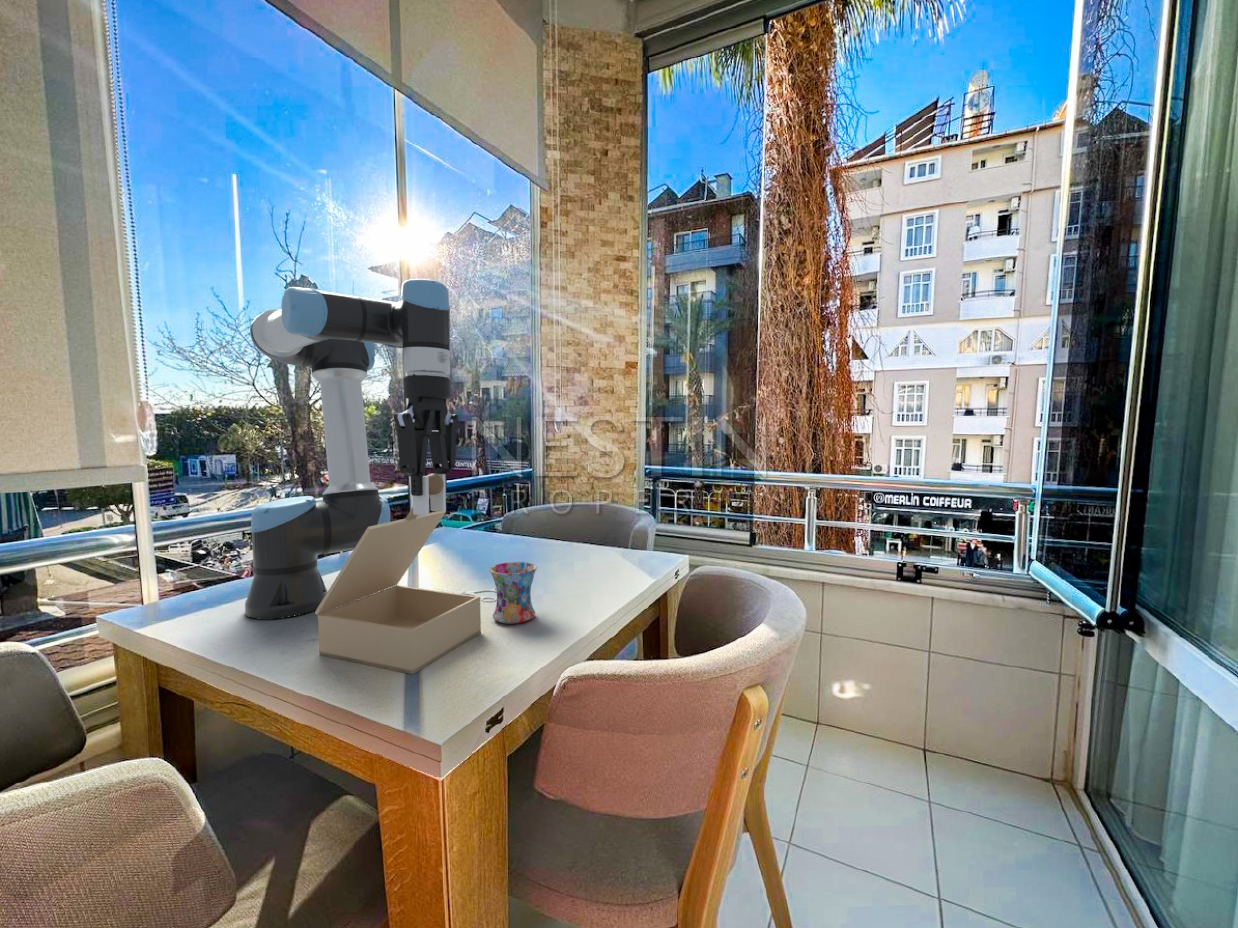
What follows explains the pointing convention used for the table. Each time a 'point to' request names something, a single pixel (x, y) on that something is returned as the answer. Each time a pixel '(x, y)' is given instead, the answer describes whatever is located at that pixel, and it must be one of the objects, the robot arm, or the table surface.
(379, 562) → the lid
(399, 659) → the box
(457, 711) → the table surface
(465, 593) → the scissors
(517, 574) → the mug
